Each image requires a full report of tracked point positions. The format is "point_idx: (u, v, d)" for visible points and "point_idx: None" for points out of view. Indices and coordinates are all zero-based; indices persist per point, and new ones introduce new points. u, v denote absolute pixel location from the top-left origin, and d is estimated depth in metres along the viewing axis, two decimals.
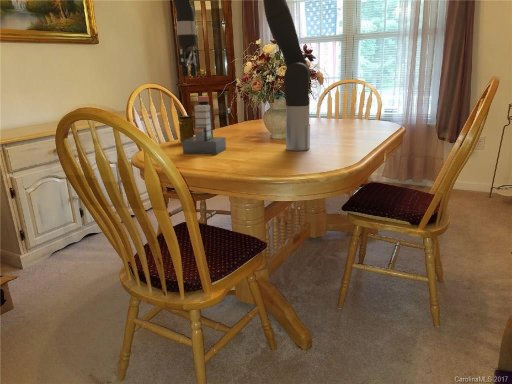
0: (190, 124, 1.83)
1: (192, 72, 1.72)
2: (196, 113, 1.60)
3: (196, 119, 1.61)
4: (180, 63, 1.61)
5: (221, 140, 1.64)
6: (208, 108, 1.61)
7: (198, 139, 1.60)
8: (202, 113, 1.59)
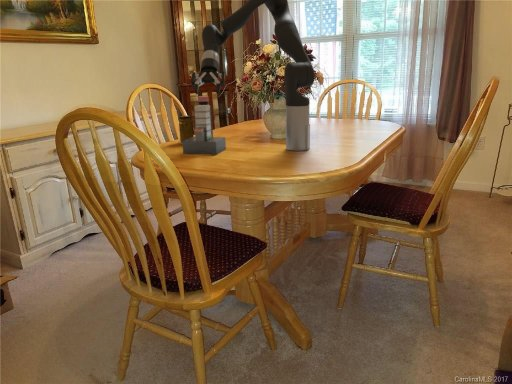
0: (190, 124, 1.83)
1: (197, 89, 1.71)
2: (196, 113, 1.60)
3: (196, 119, 1.61)
4: (224, 82, 1.71)
5: (221, 140, 1.64)
6: (208, 108, 1.61)
7: (198, 139, 1.60)
8: (202, 113, 1.59)
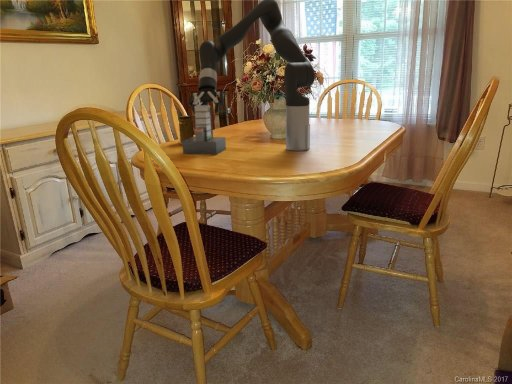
0: (190, 124, 1.83)
1: None
2: (196, 113, 1.60)
3: (196, 119, 1.61)
4: (222, 101, 1.67)
5: (221, 140, 1.64)
6: (208, 108, 1.61)
7: (198, 139, 1.60)
8: (202, 113, 1.59)
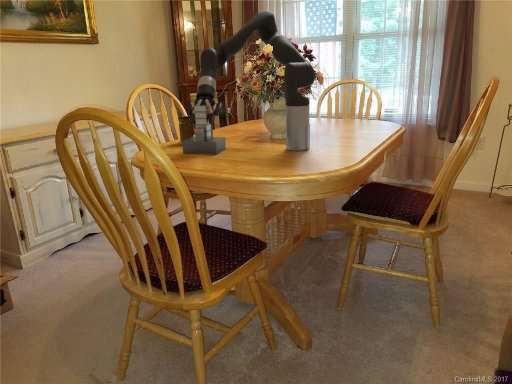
0: (190, 124, 1.83)
1: None
2: (196, 113, 1.60)
3: (196, 119, 1.61)
4: (217, 111, 1.62)
5: (221, 140, 1.64)
6: (208, 108, 1.61)
7: (198, 139, 1.60)
8: (202, 113, 1.59)
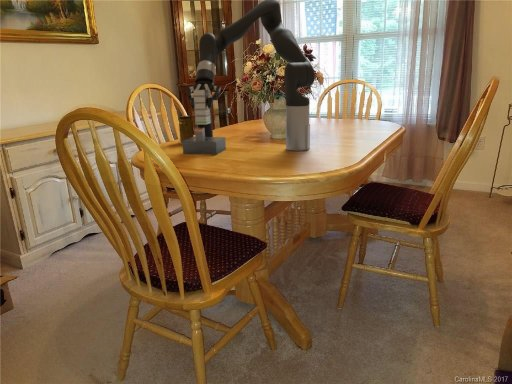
0: (190, 124, 1.83)
1: None
2: (195, 97, 1.58)
3: (195, 103, 1.59)
4: (216, 96, 1.60)
5: (221, 140, 1.64)
6: (207, 92, 1.60)
7: (198, 139, 1.60)
8: (201, 98, 1.58)
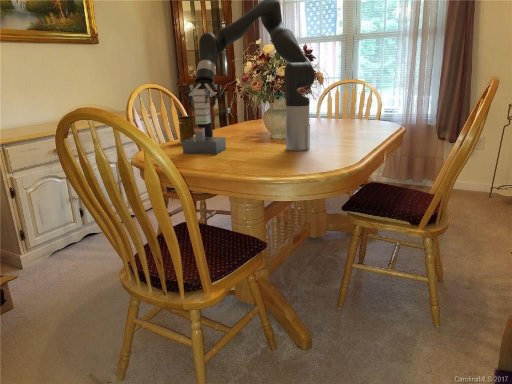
0: (190, 124, 1.83)
1: (191, 102, 1.61)
2: (195, 97, 1.58)
3: (195, 103, 1.59)
4: (220, 94, 1.61)
5: (221, 140, 1.64)
6: (207, 92, 1.60)
7: (198, 139, 1.60)
8: (201, 97, 1.58)
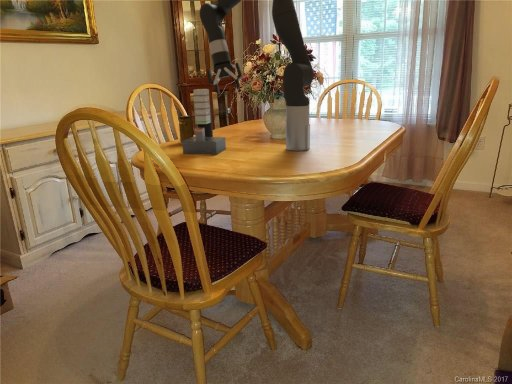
0: (190, 124, 1.83)
1: (218, 90, 1.74)
2: (195, 97, 1.58)
3: (195, 103, 1.59)
4: (241, 75, 1.72)
5: (221, 140, 1.64)
6: (207, 92, 1.60)
7: (198, 139, 1.60)
8: (201, 97, 1.58)
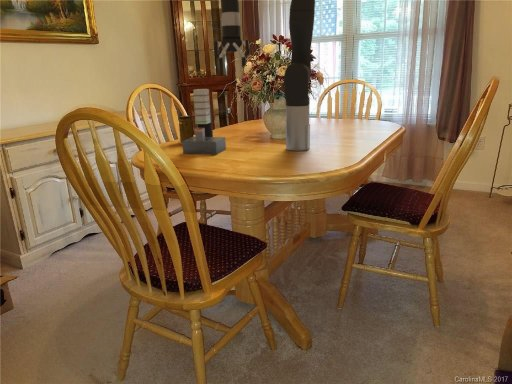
0: (190, 124, 1.83)
1: (223, 64, 1.69)
2: (195, 97, 1.58)
3: (195, 103, 1.59)
4: (249, 54, 1.67)
5: (221, 140, 1.64)
6: (207, 92, 1.60)
7: (198, 139, 1.60)
8: (201, 97, 1.58)
